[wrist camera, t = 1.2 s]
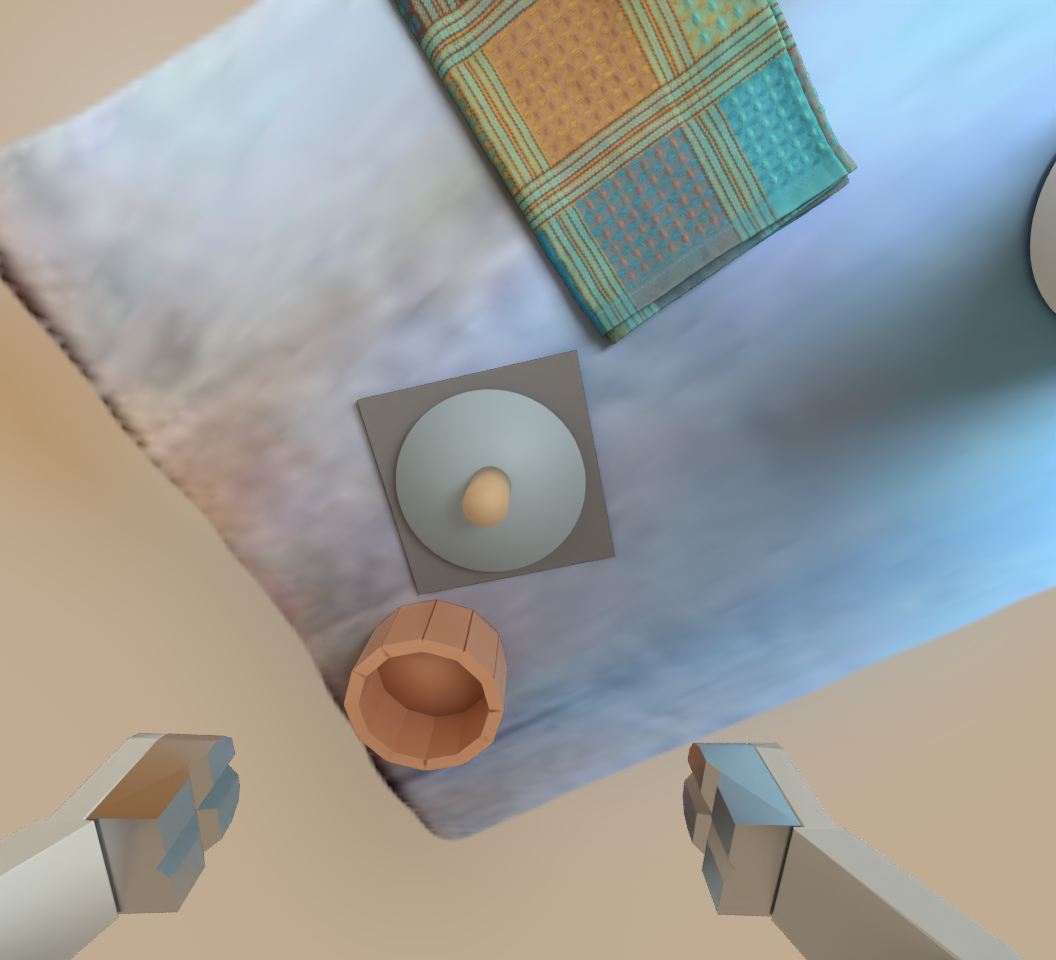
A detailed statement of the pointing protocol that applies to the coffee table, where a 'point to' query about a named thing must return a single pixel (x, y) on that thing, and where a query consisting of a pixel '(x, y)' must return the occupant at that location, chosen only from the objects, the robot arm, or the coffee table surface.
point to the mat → (537, 379)
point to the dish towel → (638, 133)
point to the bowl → (429, 686)
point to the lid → (490, 480)
